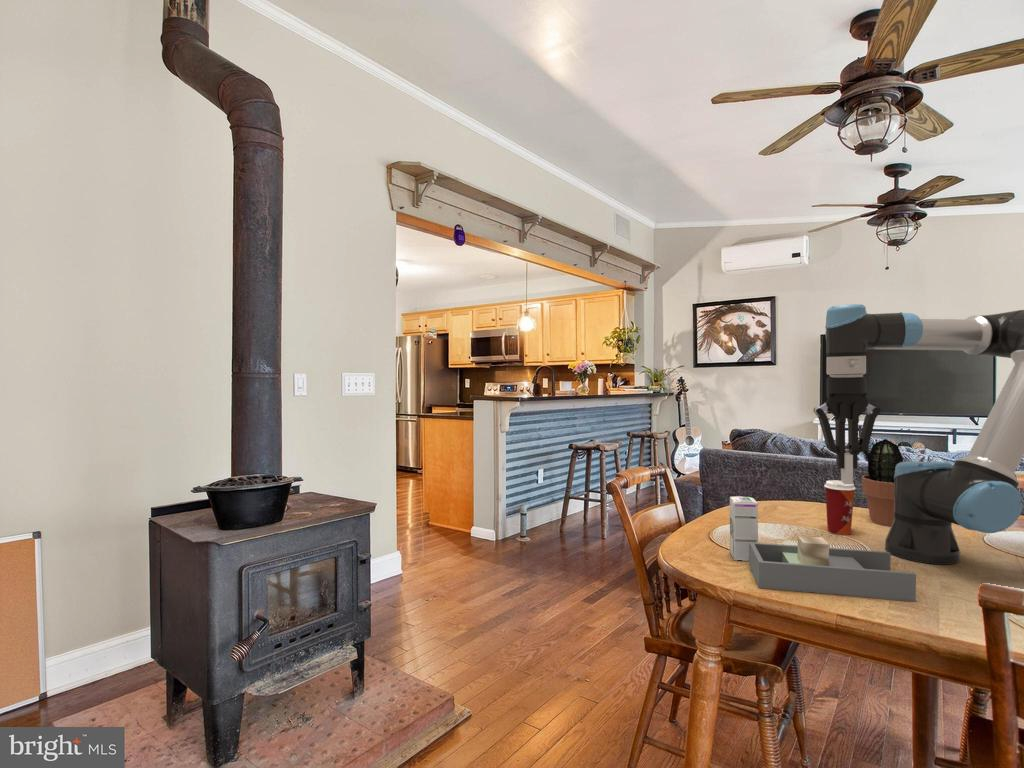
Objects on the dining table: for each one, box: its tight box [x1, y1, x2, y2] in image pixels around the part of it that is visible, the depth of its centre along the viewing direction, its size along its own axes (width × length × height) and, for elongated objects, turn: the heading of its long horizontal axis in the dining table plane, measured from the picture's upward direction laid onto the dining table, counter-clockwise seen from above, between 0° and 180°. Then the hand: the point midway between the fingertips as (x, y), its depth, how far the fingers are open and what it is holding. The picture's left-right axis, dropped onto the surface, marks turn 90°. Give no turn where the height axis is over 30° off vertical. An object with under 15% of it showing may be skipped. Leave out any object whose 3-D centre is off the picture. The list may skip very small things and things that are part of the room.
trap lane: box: [748, 542, 917, 602], centre depth 124 cm, size 29×14×6 cm, turn 75°
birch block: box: [797, 535, 830, 566], centre depth 124 cm, size 5×5×5 cm
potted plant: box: [861, 438, 904, 527], centre depth 170 cm, size 14×14×25 cm
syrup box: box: [729, 495, 759, 562], centre depth 140 cm, size 6×6×14 cm
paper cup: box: [823, 479, 856, 536], centre depth 161 cm, size 8×8×14 cm
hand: (847, 483), depth 126 cm, fingers closed
